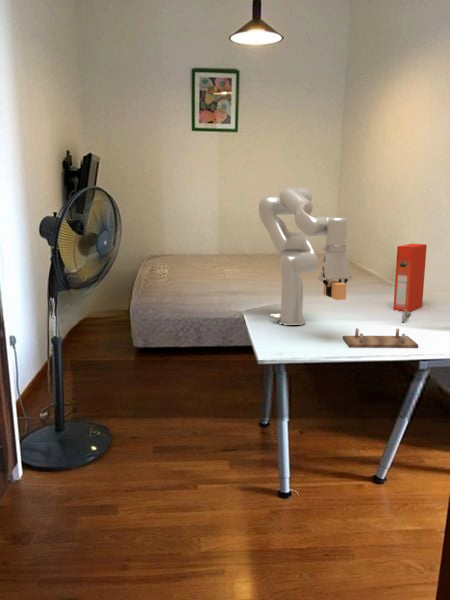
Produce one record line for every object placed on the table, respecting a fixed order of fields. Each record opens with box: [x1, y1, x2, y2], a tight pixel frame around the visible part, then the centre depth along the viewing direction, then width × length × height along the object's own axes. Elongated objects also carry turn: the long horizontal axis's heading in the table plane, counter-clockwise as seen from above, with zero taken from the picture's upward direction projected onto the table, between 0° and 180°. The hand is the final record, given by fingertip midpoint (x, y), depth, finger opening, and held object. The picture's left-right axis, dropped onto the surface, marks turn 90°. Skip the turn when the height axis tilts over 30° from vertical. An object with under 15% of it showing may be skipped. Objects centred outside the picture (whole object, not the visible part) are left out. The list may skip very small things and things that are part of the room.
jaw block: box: [323, 279, 347, 301], centre depth 199 cm, size 4×12×6 cm, turn 13°
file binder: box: [393, 243, 428, 313], centre depth 251 cm, size 8×17×32 cm, turn 138°
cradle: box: [342, 328, 419, 349], centre depth 196 cm, size 26×12×5 cm, turn 89°
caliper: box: [401, 309, 412, 324], centre depth 235 cm, size 20×1×6 cm, turn 151°
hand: (334, 295), depth 199 cm, fingers closed on jaw block, 4 cm apart
